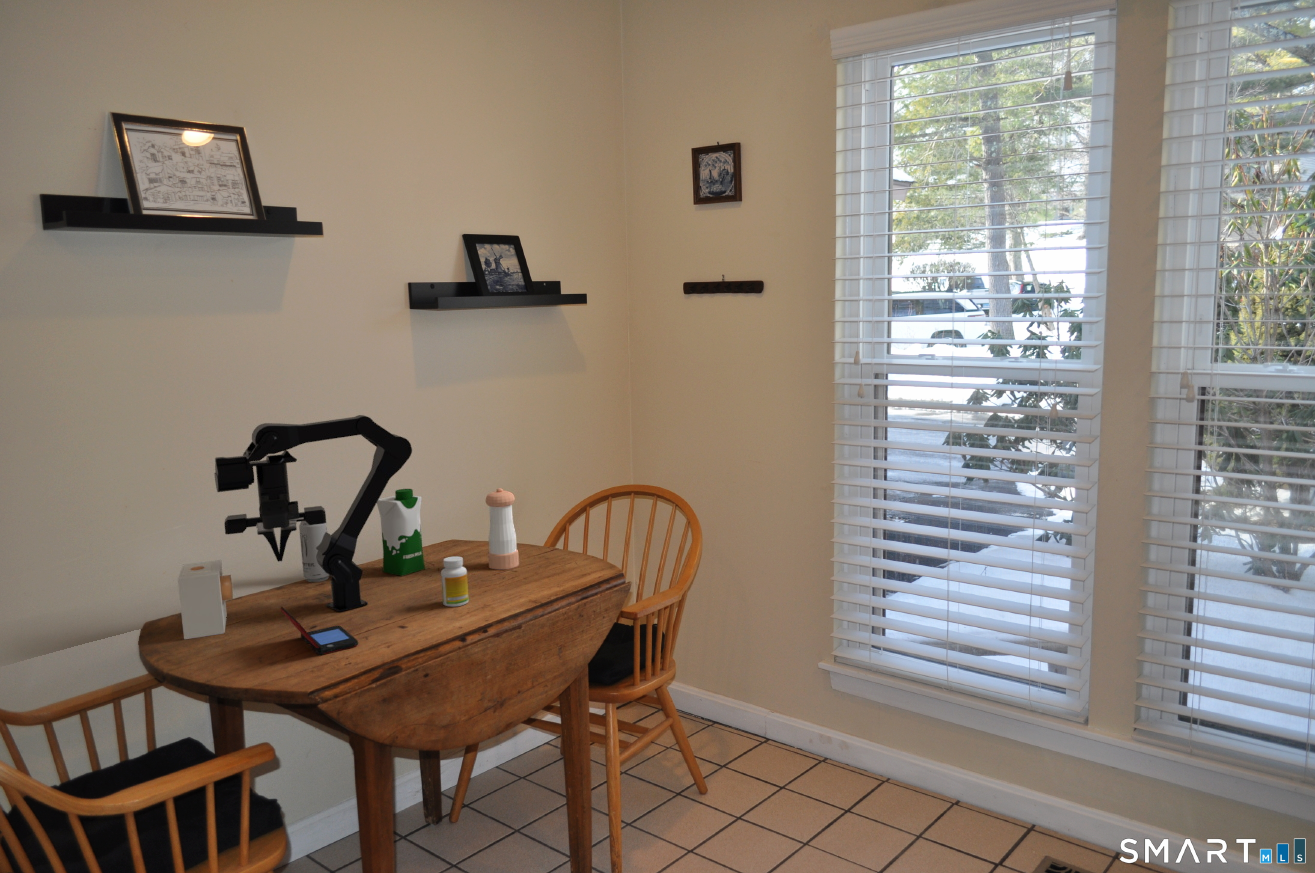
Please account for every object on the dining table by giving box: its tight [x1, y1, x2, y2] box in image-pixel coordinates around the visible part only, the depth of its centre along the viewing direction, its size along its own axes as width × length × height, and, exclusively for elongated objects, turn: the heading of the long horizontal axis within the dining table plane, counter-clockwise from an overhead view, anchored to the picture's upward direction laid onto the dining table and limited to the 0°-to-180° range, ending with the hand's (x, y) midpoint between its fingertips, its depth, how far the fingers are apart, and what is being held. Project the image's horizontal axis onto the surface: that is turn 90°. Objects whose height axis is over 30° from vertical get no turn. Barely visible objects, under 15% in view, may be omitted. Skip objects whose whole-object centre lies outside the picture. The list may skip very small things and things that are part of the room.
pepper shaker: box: [485, 487, 520, 570], centre depth 215 cm, size 7×7×19 cm
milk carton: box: [376, 488, 426, 577], centre depth 214 cm, size 9×9×20 cm
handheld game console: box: [280, 606, 359, 656], centre depth 166 cm, size 12×11×7 cm
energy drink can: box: [298, 521, 330, 583], centre depth 209 cm, size 6×6×15 cm
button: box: [220, 574, 234, 602], centre depth 179 cm, size 4×5×5 cm
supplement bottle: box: [440, 556, 470, 608], centre depth 188 cm, size 5×5×10 cm
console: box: [177, 559, 228, 640], centre depth 178 cm, size 7×12×12 cm, turn 24°
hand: (279, 560), depth 181 cm, fingers closed
